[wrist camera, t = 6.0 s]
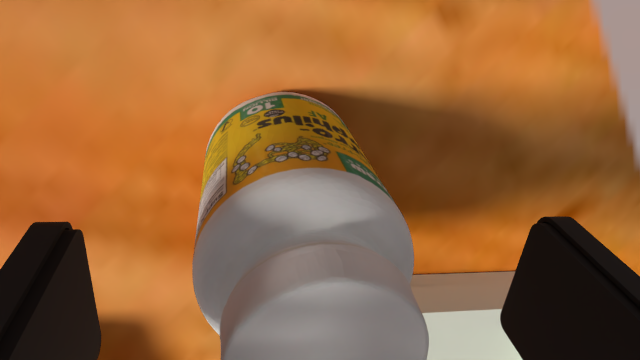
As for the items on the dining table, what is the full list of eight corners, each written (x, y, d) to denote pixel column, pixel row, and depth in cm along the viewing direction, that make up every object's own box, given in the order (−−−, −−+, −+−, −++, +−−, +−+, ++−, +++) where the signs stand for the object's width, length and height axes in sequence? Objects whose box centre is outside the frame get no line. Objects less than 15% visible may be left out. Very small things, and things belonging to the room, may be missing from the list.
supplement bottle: (187, 198, 17) (140, 441, 9) (235, 63, 15) (236, 207, 7) (318, 236, 19) (385, 471, 10) (377, 118, 17) (516, 289, 9)
